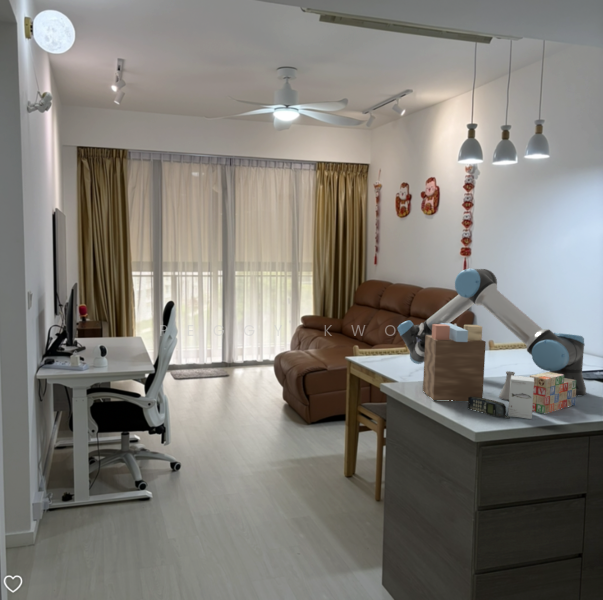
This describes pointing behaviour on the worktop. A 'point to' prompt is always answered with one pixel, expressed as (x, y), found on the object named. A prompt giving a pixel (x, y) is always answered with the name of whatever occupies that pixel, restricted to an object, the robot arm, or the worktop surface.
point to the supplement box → (521, 397)
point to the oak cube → (474, 332)
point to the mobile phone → (487, 406)
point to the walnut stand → (453, 369)
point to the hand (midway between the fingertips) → (439, 326)
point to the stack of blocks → (552, 392)
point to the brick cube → (440, 331)
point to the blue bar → (457, 333)
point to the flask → (506, 386)
